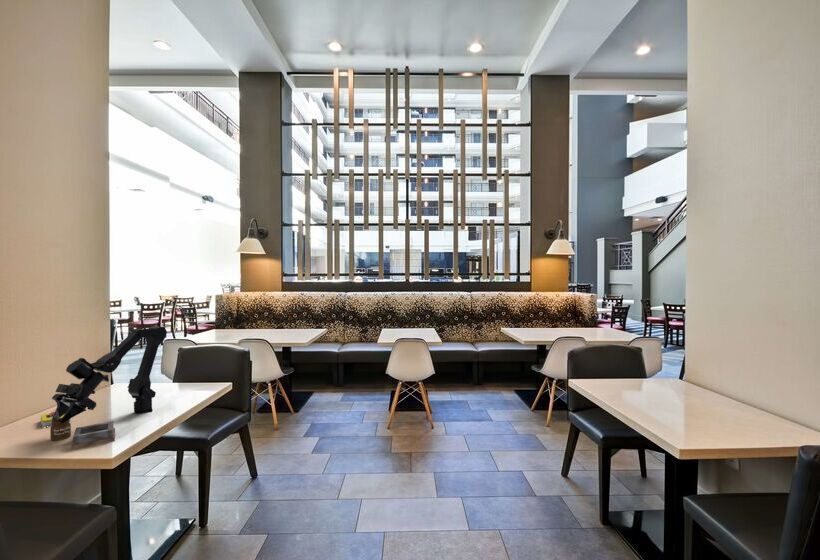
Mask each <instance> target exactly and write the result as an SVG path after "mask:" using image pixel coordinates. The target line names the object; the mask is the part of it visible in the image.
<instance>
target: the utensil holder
mask: <svg viewBox="0 0 820 560" xmlns="http://www.w3.org/2000/svg"><path fill="white" fill-rule="evenodd" d="M51 412H54V410H52V411H51ZM56 414H58V413H56ZM53 415H54V414H53ZM58 415H59V414H58ZM50 417H51V416H50ZM55 417H56V416H55ZM51 418H53V417H51ZM61 419H62V418H58V419H55V420H53V421H52V423H51V424H52V426H51V427H50V431H49V432H50V434H49V435H50V436H49V437H50V440H51V441H53V440H54V441H61V440H62V441H63V440H65V439H68V438H70V437H71V434H72V425H71V424H72V423H70V422H69V421H70V420H67V421H65V422H64V423H60V420H61Z"/></svg>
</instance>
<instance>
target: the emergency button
mask: <svg viewBox="0 0 820 560" xmlns="http://www.w3.org/2000/svg"><path fill="white" fill-rule="evenodd" d="M55 411H56V410H53V412H52V411H51V412H49V413H45V414H41V415H40V420H41V422H40V424H42V425H41V428H42V429H43V428H44V427H47V426H48V427H50V428H51V426H52V424H51V423H52V421H51V419H52V418H51V417H53V414H54V413H55ZM64 415H65V414H64ZM64 415H63V416H64ZM50 416H51V417H50ZM63 416H61V417H60V418H62V417H63ZM69 420H70V421H69V422H70V424H72V423H73V421H72V418H71V419H69Z"/></svg>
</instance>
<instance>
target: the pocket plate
mask: <svg viewBox="0 0 820 560" xmlns="http://www.w3.org/2000/svg"><path fill="white" fill-rule="evenodd" d="M115 437H116V428H115V427H114V420H112V421H107V422H101V423H96V424H89V425H85V426H77V427H75V430H74V433H73V436H72V442H71V445H70V449H71V450H77V449H81V448H85V447H89V446H90V447H91V446H96V445H102V444H105V443H106V444H107V443H110V442H111V443H112V442H115Z"/></svg>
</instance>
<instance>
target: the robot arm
mask: <svg viewBox="0 0 820 560" xmlns="http://www.w3.org/2000/svg"><path fill="white" fill-rule="evenodd" d="M167 335H168V330H167V329H166V328H165V327H164V326H150V327H148V328H134V329H133V330H131V332H130V333H129V335H128V336H127V337H125V338H124V339H123V340H122V341H121V342H120V343H118V345H116V347H115V348H114V349H113V350H112V351H111V352H109V353H106V354H104V355H102V356H101V357H100V358H98V359H97V360H96V361H94V362H91V363H90V362H89V361H87V360H86V359H85V358H84V357H79V358H78V359H77V360H74V361H73V362H72V363H70V364H69V365H67V366H66V369H65V371H66V373H68V374H70V375H71V376H72V377H74V378H76V379H78V380H82V381H81V382H80V383H74V382H71V383H70V384H65V383H59V384H58V385H57V387H56V389H55V394H54V395H53V396H52V397H51V400H53V401H54V402H55V403H56V409H55V410H54V411H55V413H54V415H53V418H52V419H51V421H53V420H55V419H58V418H60V417H61V416H63V415H64V414H65V415H64V416H63V417H62V419H61V420H60V423H64V422H65V421H67V420H69V419H71V420H72V419H73V418H74V417H76V416H78V415H80V414H82V413H84V412H86V411H87V410H89V411H94V410H95V408H96V407H97V402H96V401H94V400H93V399H91V398H89V397H90V396H91V395H94V394H96V391H95V390H96V389H97V388H98V387H99V386H100V384H101V383H102V382H107V383H109V382H110V379H109V374H108V373H113V372H115V371H116V370H117V369H118V367H119V366H120V365H121V362H122V359H123V358H124V356H126V355H127V354H128V353H129V352H130V350H131V349H133V347H135V346H136V345H137V344H138V343H139V342H140V341H141V340H142V339H143V338H144V339H145V344H146V345H145V350H144V352H143V355H142V358H141V360H140V361H141V362H140V365H139V368H138V372H137V374H136V376H135V377H134V378H130V380H129V382H128V386H127V392H128V394H129V395H131V396H130V397H131V398H132V399H134V400H135V401H133V412H134V413H135V415H137V414H138V415H139V414H143V413H150V412H153V398H156V391H155V390H153V389H152V388H151V386H152V385H151V384H152V382H151V381H152V380H151V373H152V370H153V365H154V362H155V360H156V356H157V352H158V349H159V346H160V345H161V344H162V343H163V342H164V341H165V338H166V337H167ZM103 373H107V374H103ZM56 413H58V414H59V415H58V414H56ZM55 416H56V417H55Z"/></svg>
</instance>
